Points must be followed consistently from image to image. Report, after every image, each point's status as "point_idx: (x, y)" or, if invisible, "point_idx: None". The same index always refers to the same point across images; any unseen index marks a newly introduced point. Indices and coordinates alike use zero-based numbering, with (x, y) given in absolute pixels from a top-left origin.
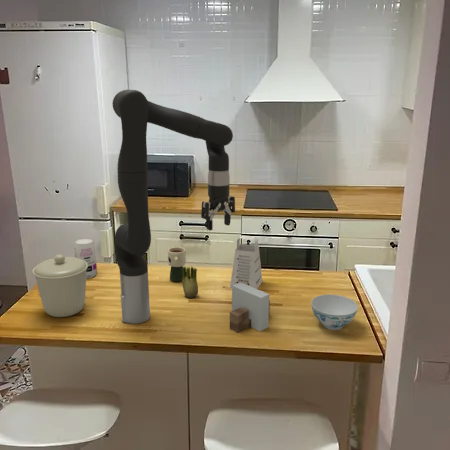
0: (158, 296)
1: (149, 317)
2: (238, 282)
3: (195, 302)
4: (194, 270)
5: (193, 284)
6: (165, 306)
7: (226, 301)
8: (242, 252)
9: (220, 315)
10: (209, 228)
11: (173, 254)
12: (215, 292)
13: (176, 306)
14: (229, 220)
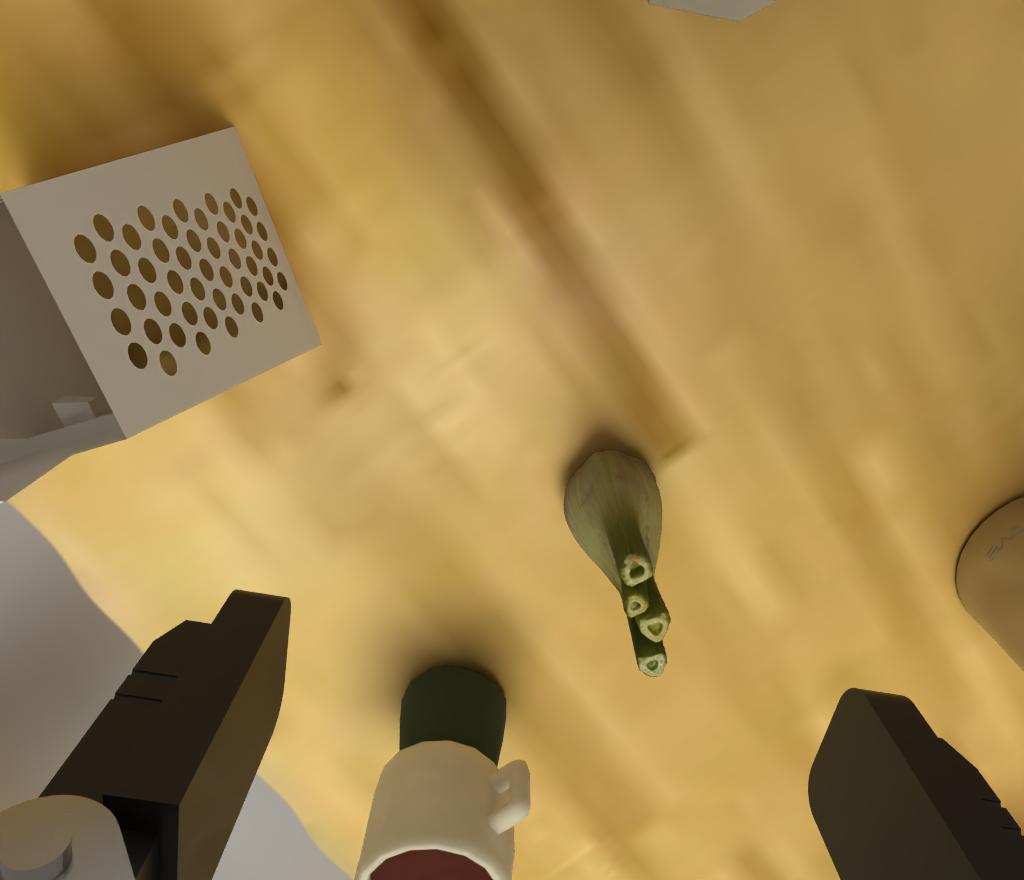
0: (729, 639)
1: (1020, 499)
2: (272, 289)
3: (672, 403)
4: (649, 558)
5: (638, 501)
6: (827, 522)
7: (529, 227)
8: (95, 342)
9: (753, 122)
10: (947, 747)
11: (506, 868)
12: (454, 386)
13: (791, 467)
14: (206, 668)
